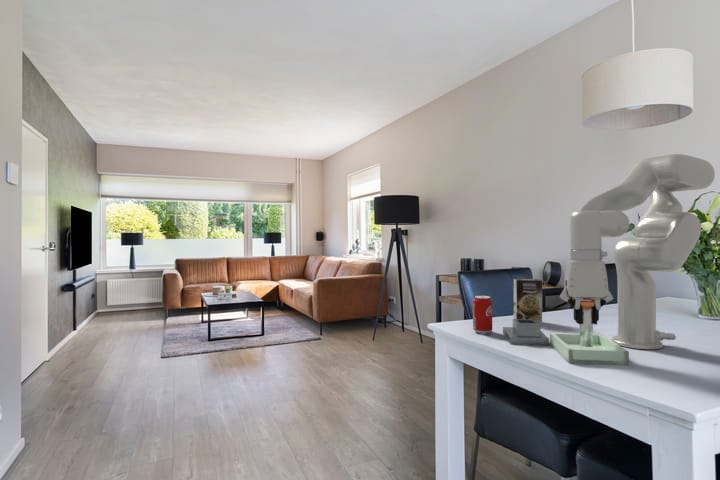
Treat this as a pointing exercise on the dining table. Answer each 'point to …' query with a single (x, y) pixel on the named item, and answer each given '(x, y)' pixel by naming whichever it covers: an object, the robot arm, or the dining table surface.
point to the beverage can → (482, 314)
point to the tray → (589, 350)
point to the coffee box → (528, 299)
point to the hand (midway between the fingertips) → (586, 322)
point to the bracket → (525, 332)
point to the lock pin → (586, 323)
